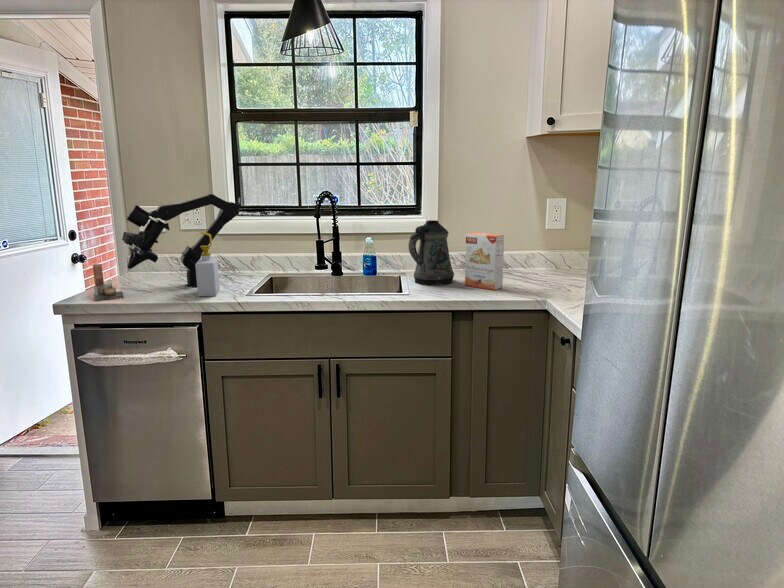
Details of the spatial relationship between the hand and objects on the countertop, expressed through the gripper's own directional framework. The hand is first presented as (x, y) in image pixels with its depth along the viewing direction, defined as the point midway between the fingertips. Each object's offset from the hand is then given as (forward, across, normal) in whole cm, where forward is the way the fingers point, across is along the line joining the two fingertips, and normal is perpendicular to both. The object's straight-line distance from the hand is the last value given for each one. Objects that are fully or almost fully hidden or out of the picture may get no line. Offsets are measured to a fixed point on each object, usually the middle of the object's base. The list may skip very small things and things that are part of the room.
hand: (128, 268), depth 219 cm
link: (+12, +3, -4) cm, 13 cm away
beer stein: (-57, +73, +74) cm, 119 cm away
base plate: (+12, +6, -3) cm, 14 cm away
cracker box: (-64, +94, +77) cm, 137 cm away
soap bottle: (-8, +26, +18) cm, 33 cm away
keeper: (+12, +4, -5) cm, 14 cm away
